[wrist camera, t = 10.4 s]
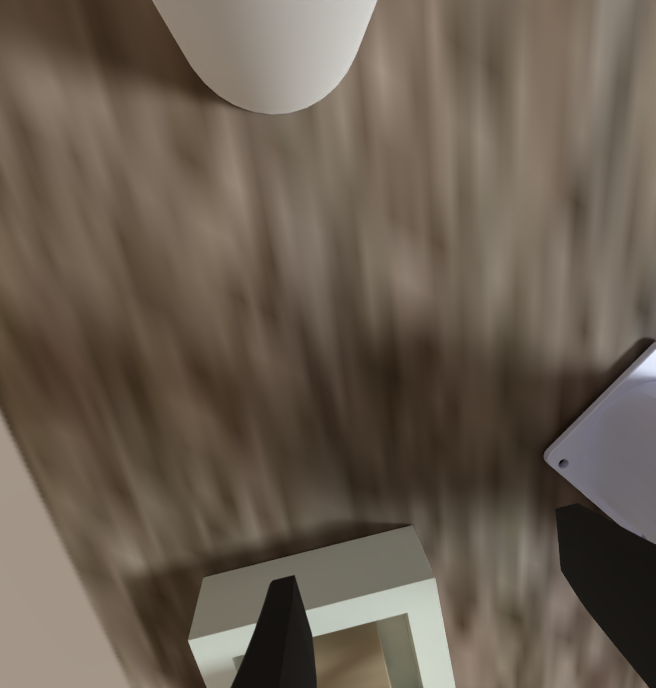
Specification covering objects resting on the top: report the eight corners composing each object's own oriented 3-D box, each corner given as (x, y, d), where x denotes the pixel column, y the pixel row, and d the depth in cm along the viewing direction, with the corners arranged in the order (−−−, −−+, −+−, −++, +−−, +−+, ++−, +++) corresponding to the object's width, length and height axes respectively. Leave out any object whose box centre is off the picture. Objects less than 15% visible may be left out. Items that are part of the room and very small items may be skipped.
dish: (412, 525, 22) (434, 577, 19) (443, 680, 25) (467, 750, 22) (203, 577, 22) (187, 640, 19) (258, 729, 25) (254, 807, 21)
